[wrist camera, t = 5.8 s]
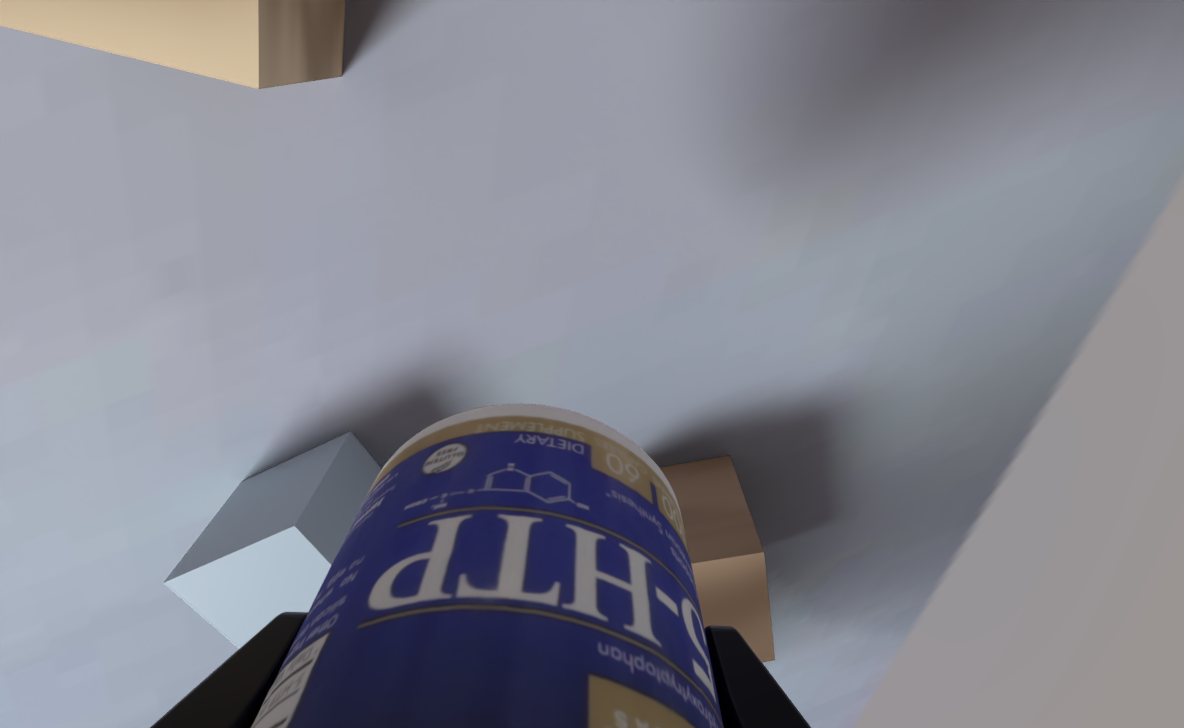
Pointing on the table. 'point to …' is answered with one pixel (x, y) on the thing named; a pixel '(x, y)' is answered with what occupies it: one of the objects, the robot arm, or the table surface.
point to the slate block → (275, 539)
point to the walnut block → (724, 550)
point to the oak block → (200, 34)
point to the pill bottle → (506, 589)
